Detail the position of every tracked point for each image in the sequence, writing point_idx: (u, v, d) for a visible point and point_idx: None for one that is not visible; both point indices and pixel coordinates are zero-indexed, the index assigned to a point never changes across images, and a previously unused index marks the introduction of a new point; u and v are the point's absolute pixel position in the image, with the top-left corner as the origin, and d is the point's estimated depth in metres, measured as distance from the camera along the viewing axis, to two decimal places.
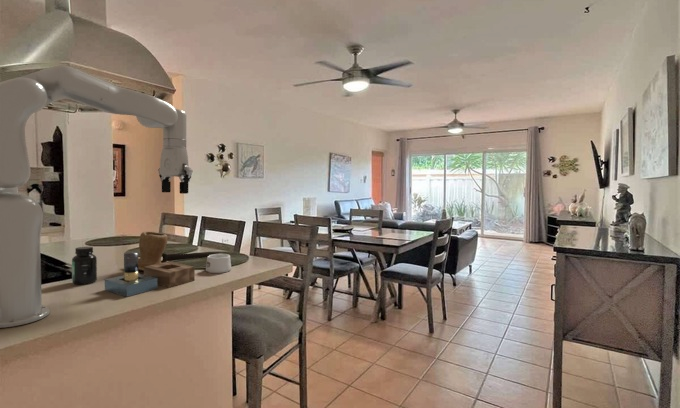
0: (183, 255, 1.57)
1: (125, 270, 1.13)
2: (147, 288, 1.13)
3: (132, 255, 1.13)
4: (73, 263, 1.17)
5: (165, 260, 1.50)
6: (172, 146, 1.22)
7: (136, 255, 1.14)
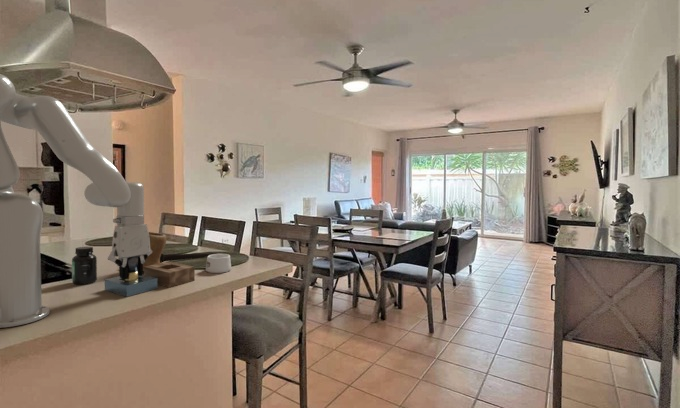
0: (180, 255, 1.56)
1: None
2: (147, 288, 1.13)
3: None
4: (73, 263, 1.17)
5: (162, 260, 1.50)
6: (143, 223, 1.14)
7: None
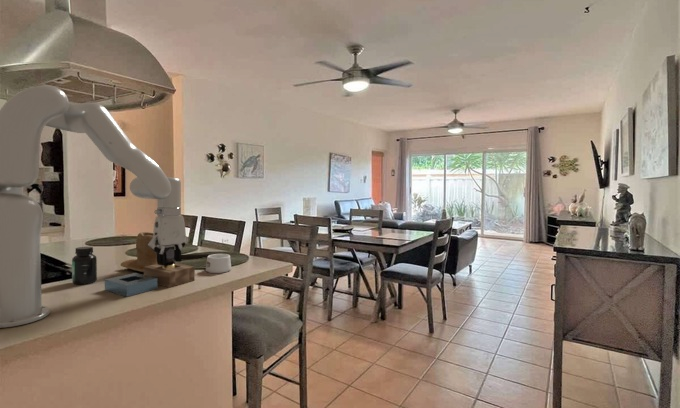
0: None
1: None
2: (147, 288, 1.13)
3: (169, 249, 1.23)
4: (73, 263, 1.17)
5: None
6: (180, 215, 1.25)
7: (173, 249, 1.24)
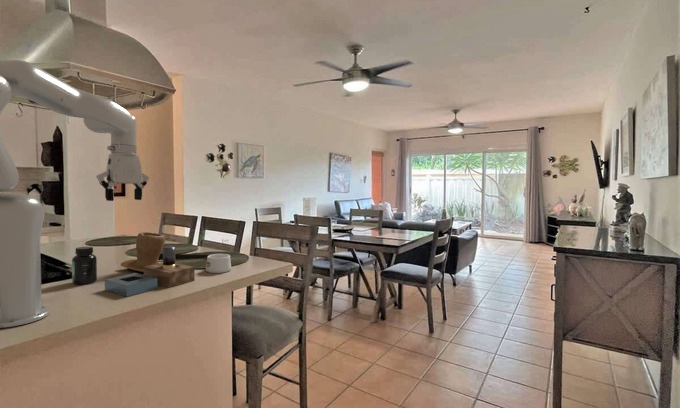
0: None
1: (164, 263, 1.23)
2: (147, 288, 1.13)
3: (170, 249, 1.23)
4: (73, 263, 1.17)
5: None
6: (135, 153, 1.23)
7: (174, 249, 1.25)
